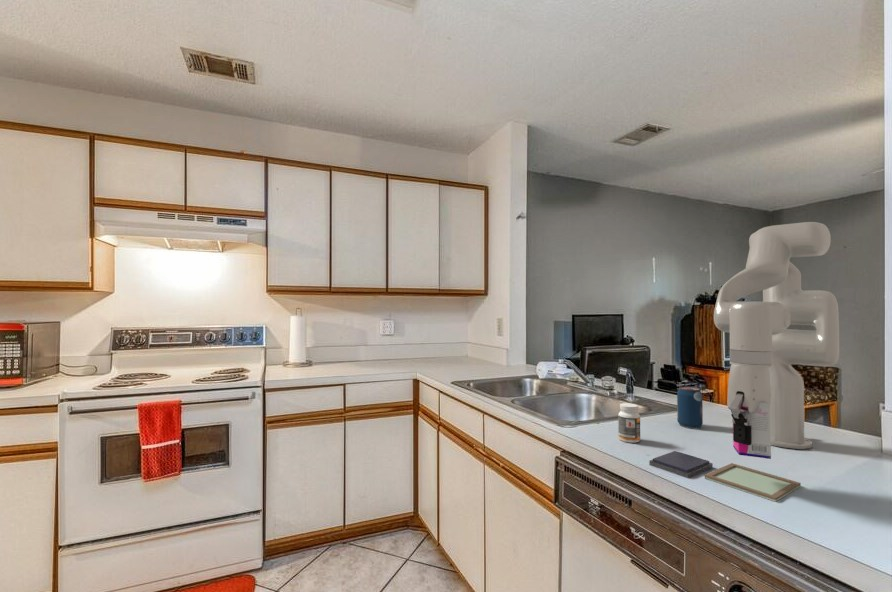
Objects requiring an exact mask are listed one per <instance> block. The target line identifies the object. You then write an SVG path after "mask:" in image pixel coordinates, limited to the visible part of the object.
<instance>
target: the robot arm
mask: <svg viewBox="0 0 892 592" xmlns="http://www.w3.org/2000/svg"><path fill="white" fill-rule="evenodd" d="M831 236H832V235H831V233H830V230H829V228H828V226H826V225H825V224H824V223H821V222H818V221H804V222H795V223H786V224H776V225H769V226H768V225H767V226H764V227H762V228H759V229H758V230H757V231H755V232H753V233H752V234H750V236H749V238H748V239H749V240H748V246H749V250H748V254H747V259H746V264H745V268H744V269H742V270H741V271H739V272H737V273H736V274H735V275H732V277H731V278H730V279H729V280H727V281H726V282H725V283H724V284H723V285H722V286H721V288H720V289H719V291H718V293H717V297H716V302H715V307H714V309H713V323H714V325H715V328H717V329H718V330H719V331H721V332H724V333H729V364H730V368H729V374H728V381H727V382H728V383H727V384H728V386H727V401H726V402H727V403H726V404H727V408H728V410H730V412H731V417H732V420H731V423H732V440H734V442H737V443H741V444H746V445H751V444H752V428H751V426H749V424H750V419H751V415H752V414H754V413H757V412H758V409H759V404H760V403H761V402H767V403H769V404H770V437H771V446H775V447H779V448H786V449H791V450H792V449H793V450H807V449H811V448H812V447H813V442H812V441H811V440H810V439H808V438H805V384H804V379H803V377H802V376H801V374H800V373H799V372H798V370H796V369H795V368H794V367H793V365H800V366H813V367H833V366H834V365H836V364H837V363H838V361H839V358H840V316H839V315H840V314H839V304H838V300H837V298H836V296H835V294H834V293H832V292H831V291H828V290H817V289H816V290H813V289H812V290H807V289H806V290H803V289H802V273H801V271H800V269H798V268H797V266H796V265H794V263H792V262H791V261H790V260H791V258H803V257H818V256H819V257H820V256H823V255H825V254H826V253H827V252H828V251H829V249H830V246H831V242H832V239H831V238H832V237H831ZM761 291H762V301H748V300H746V301H743V300H742V301H740V299H742V298H744V297H746V296H750V295H752V294H755V293H759V292H761ZM791 325H794V326H795V325H796V326H797V325H798V326H812V327H814V328H815V329H814V330H813V329H812V330H811V329H793V328H791V329H790V328H789V327H790V326H791ZM742 404H743V407H745V408H747V409H748V410H743V409H740V408H741V406H742ZM741 413H742V414H741ZM743 414H746V417H745V418H744V416H743Z"/></svg>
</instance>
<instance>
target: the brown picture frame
mask: <svg viewBox="0 0 892 592" xmlns="http://www.w3.org/2000/svg"><path fill="white" fill-rule="evenodd" d="M704 479H705V480H708V481H712V482H715V483H718V484H721V485H722V486H723V485H724V486H727V487H730V488H733V489H736V490H739V491H742V492H744V493H747V494H751V495H754V496H756V497H760V498H763V499H766V500H770V501H772V502H778V501H779V500H781V499H783V498H784V497H785V496H787V495H790V494H791V493H793V492H794V491H795V490H797V489H798V488H801V486H802V485H801V483H802V482H798V481H796V480H792V479H790V478H789V479H788V478H785V477H781V476H778V475H774V474H772V473H768V472H765V471H760V470H759V469H758V470H757V469H754V468H751V467H746V466H743V465H740V464H737V463H733V462H731V463H729V464H726V465H725V466H722V467H720V468H718V469H715V470H713V471H711V472H709V473H706V474H704Z"/></svg>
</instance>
